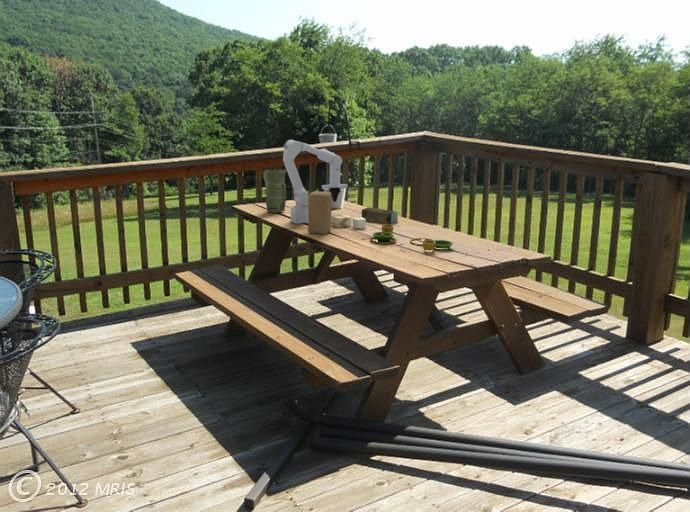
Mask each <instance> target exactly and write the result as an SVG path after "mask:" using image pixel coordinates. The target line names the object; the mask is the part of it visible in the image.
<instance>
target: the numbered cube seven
mask: <svg viewBox="0 0 690 512" xmlns="http://www.w3.org/2000/svg"><path fill="white" fill-rule="evenodd" d="M366 226H367V220H366V219H364V218H362V216H360V217H352V228H354V227H355V228H354V229H356V228H363V229H367V228H366Z"/></svg>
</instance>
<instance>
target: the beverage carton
mask: <svg viewBox="0 0 690 512" xmlns="http://www.w3.org/2000/svg"><path fill="white" fill-rule="evenodd" d="M398 213H399V212H398V211H396V210H389V209H382V208H376V207H365V208H363V209H361V217H362V218H364V219H366V221H367V220H368V222H373V223H374V222H375V223H382V224H386V225H393V224H395V223H398V218H399V216H398Z"/></svg>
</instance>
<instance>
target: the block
mask: <svg viewBox="0 0 690 512" xmlns="http://www.w3.org/2000/svg"><path fill="white" fill-rule="evenodd" d="M332 201H333V200H332V194H331V193H330V191H317V190H316V191H315V190H314V191H312V192H310V193H309V194H308V223H307V232H308V234H314V233H318V235H327V234H328V233H329V232H331V230H332V224H331V215H332Z"/></svg>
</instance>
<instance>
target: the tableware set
mask: <svg viewBox="0 0 690 512" xmlns="http://www.w3.org/2000/svg"><path fill="white" fill-rule="evenodd" d="M394 226H395V225H393V224H382V225H381V231H376V232H372V236H367V237H361V238H362V239H361V240H365V239H364V238H369V240H370V242H371V241H372V242H371V243H373V242H375V243H374V244H376V243H381V244H380V245H392V244H391V243H393V244H395V243H396V242H397V239H396V238H395V237H394V233H393V231H394ZM371 237H372V238H371ZM373 239H375V240H376V239H377V240H378V242H376V241H373ZM421 239H425V240H424V241H423V244H417V243H413V242H412V241H415V240H421ZM394 242H395V243H394ZM409 242H410V243H411V244H412V243H413V244H412V245H414V244H417V245H416V246H419V245H423V246H422V248H423V249H424V250H429V251H430V250H434V251H435V247H436V248H449V249H450V248H451V247H452V246H453V244H454V242H453V241H450V240H444V239H433V238H427V237H426V238H425V237H418V238H417V237H415V238H412V239H410V240H409ZM423 249H422V250H423Z"/></svg>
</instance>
